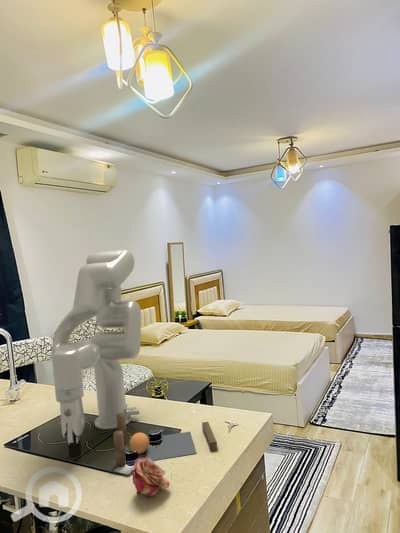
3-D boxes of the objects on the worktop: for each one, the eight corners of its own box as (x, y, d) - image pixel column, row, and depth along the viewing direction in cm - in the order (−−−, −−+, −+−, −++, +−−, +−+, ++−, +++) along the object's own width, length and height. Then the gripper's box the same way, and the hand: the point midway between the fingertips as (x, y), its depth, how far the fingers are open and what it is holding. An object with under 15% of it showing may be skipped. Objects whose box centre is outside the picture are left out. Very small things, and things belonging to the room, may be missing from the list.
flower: (123, 503, 88) (142, 474, 88) (120, 474, 97) (136, 447, 97) (159, 515, 92) (177, 486, 91) (153, 486, 100) (169, 460, 100)
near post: (126, 461, 110) (123, 430, 110) (125, 466, 107) (122, 434, 107) (116, 463, 110) (113, 431, 109) (116, 468, 107) (113, 435, 107)
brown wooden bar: (208, 429, 126) (208, 421, 126) (217, 450, 112) (216, 441, 112) (202, 430, 125) (201, 422, 125) (210, 451, 112) (209, 442, 111)
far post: (127, 440, 122) (124, 412, 122) (127, 444, 120) (124, 415, 120) (118, 442, 122) (116, 413, 122) (118, 446, 120) (115, 416, 119)
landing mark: (190, 432, 125) (190, 431, 125) (196, 453, 111) (196, 453, 111) (145, 438, 123) (145, 438, 123) (146, 461, 109) (146, 461, 109)
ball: (137, 450, 117) (152, 439, 118) (136, 461, 112) (153, 449, 112) (126, 436, 117) (141, 425, 117) (125, 446, 111) (141, 435, 111)
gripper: (79, 400, 105) (85, 467, 106) (86, 382, 120) (92, 441, 121) (49, 404, 104) (56, 472, 105) (61, 386, 119) (66, 445, 120)
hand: (75, 455), depth 113 cm, fingers closed
